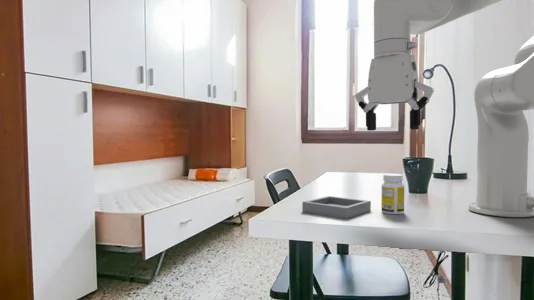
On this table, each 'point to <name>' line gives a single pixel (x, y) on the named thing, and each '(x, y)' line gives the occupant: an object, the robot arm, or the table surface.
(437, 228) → the table surface
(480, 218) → the table surface
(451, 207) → the table surface
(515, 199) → the robot arm
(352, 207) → the tray
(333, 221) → the table surface
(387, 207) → the supplement bottle
